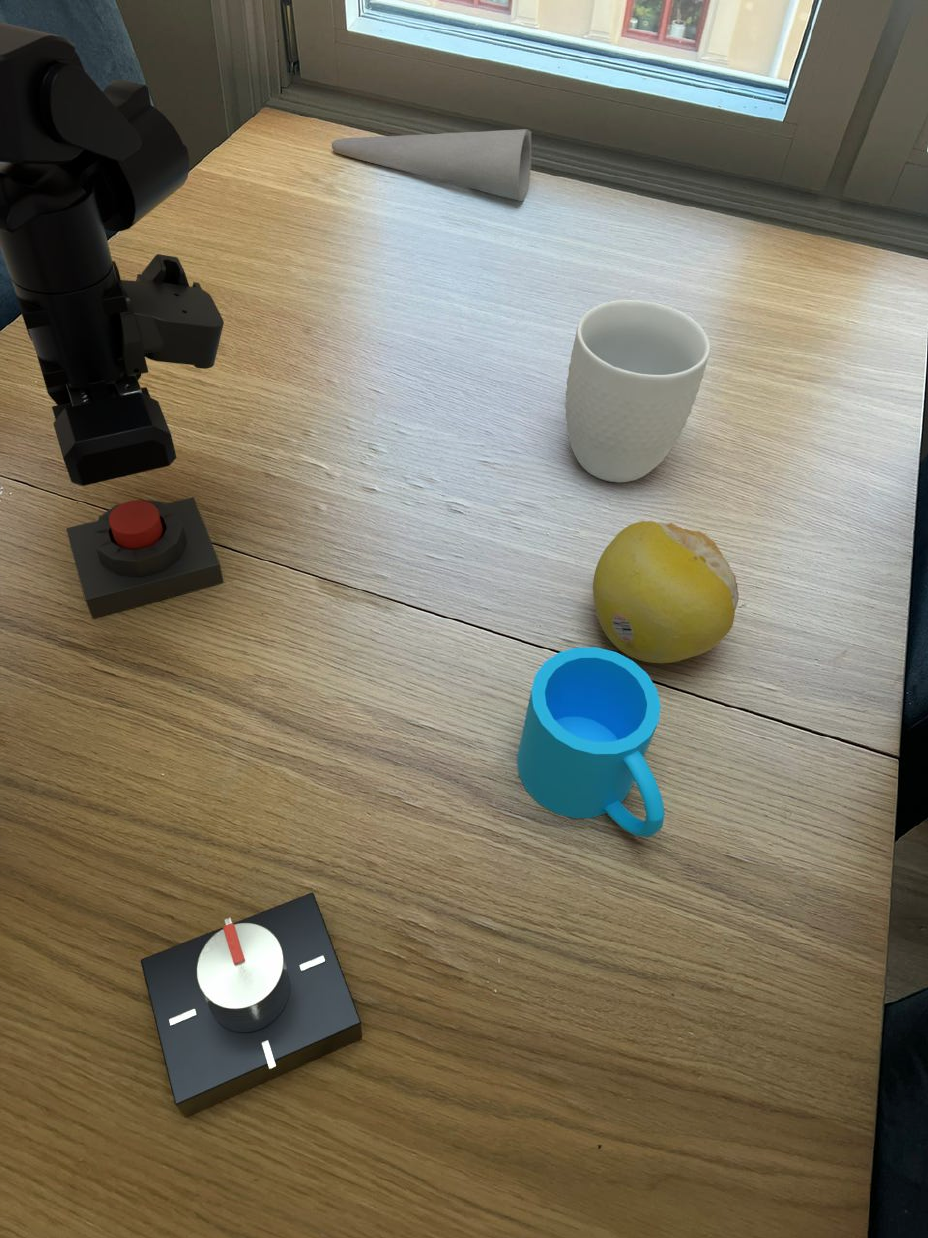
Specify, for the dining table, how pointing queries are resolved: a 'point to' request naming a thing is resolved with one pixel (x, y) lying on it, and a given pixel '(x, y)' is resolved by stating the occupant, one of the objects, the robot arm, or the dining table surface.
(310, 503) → the dining table surface
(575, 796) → the mug
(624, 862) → the dining table surface
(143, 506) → the button
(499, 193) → the gray cone
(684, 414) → the mug
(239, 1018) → the dial
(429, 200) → the dining table surface
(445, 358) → the dining table surface
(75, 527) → the button block
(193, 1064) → the dial panel
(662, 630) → the fruit
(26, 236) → the robot arm
